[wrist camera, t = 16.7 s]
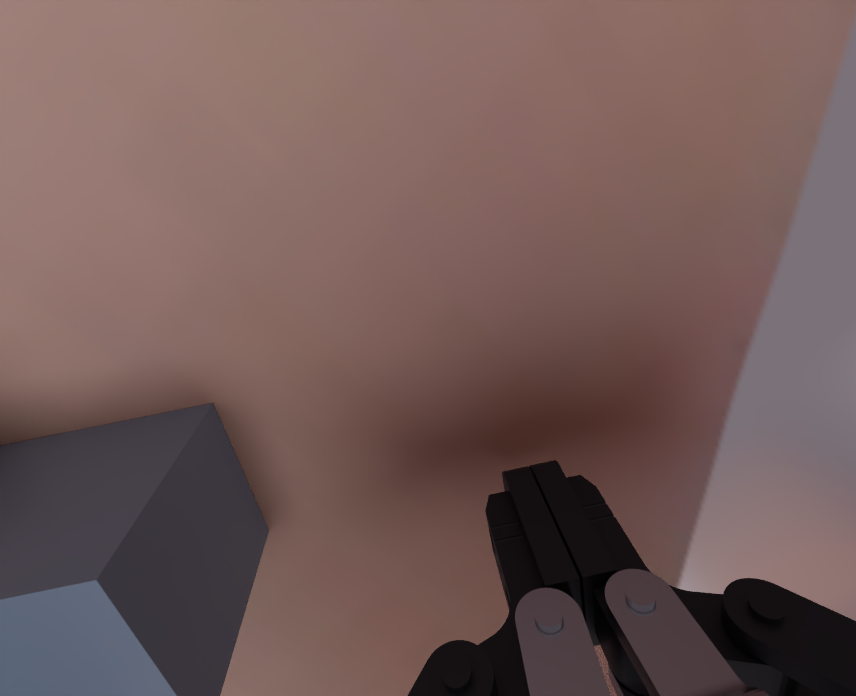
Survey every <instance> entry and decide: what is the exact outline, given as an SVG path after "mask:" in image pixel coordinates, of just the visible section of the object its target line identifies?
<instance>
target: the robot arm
mask: <svg viewBox="0 0 856 696" xmlns="http://www.w3.org/2000/svg"><path fill="white" fill-rule="evenodd" d="M502 476H503V483H504V489H505V492H501V493H496V494H491V495H489V497H488V502H487V506H486V516H487V521H488V527H489V532H490V537H491V542H492V548H493V552H494V556H495V559H496V563H497V567H498V570H499V574H500V578H501V581H502V585H503V589H504V592H505V596H506V600H507V604H508V607H509V614H508V617H507V620H506V622H505V623H504V625H503V626H502V628H501V629H500V630H499V631H498V632H497V633H495V634H494V635H493V636H491V637H490V638H488V639H487V640H485V641H483V642H482V643H480V644H479V645H476V644H474V643H471V642H469V641H464V640H455V641H450V642H448V643H445V644H443V645H442V646H440V647H439V648H437V649H436V650H435V651H434V652H433V653H432V654H431V656H430V657H429V659H428V660H427V662H426V664H425V666H424V668H423V669H422V671H421V673H420V675H419V676H418V678H417V680H416V682H415V684H414V685H413V687H412V689H411V691H410V692H409V694H408V696H611V695H610V692H609V689H608V686H607V684H606V681H605V678H604V675H603V672H602V669H601V666H600V663H599V660H598V657H597V654H596V651H595V649H594V646H595V645H601V647H602V650H603V652H604V654H605V656H606V659H607V661H608V670H609V677H610V681H611V683H612V686H613V688H614V690H615V692H616V694H617V696H856V621H854V620H852V619H850V618H848V617H845V616H843V615H841V614H839V613H837V612H834V611H832V610H830V609H828V608H826V607H824V606H821V605H819V604H817V603H815V602H813V601H811V600H808V599H806V598H804V597H802V596H800V595H797V594H795V593H793V592H791V591H789V590H787V589H784V588H782V587H780V586H778V585H775V584H773V583H770V582H768V581H764V580H760V579H753V578H744V579H739V580H735V581H734V582H732V583H730V584H729V585H728V586H727V587H726V589H725V591H724V594H712V593H701V592H690V591H685V590H681V589H678V588H675V587H672V586H670V585H668V584H667V583H666V582H665V581H664V580H663V579H661V578H660V577H658V576H657V575H655V574H653V573H651V572H650V571H649V570H648V568H647V567H646V566H645V564H644V563H643V561H642V559H641V558H640V556H639V555H638V553H637V551H636V550H635V548H634V547H633V545H632V543H631V542H630V540H629V539H628V537H627V535H626V534H625V532H624V531H623V529H622V527H621V526H620V524H619V523H618V521H617V519H616V518H614V516H613V513H612V511H611V510H610V508H609V507H608V505H606V502H605V500H604V499H603V497H602V495H601V494H600V492H599V491H598V489H597V487H596V486H595V485H593V484H592V483H591V482H589V481H588V480H586V479H585V478H584V477H582V476H581V475H577V476H573V477H568V478H566V477H565V475H564V473H563V471H562V469H561V467H560V466H559V464H558V462H557V461H556V460H554V461H549V462H545V463H540V464H535V465H531V466H529V467H528V466H527V467H522V468H518V469H513V470H509V471H504V472H502Z"/></svg>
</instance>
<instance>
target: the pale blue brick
mask: <svg viewBox="0 0 856 696" xmlns="http://www.w3.org/2000/svg"><path fill="white" fill-rule="evenodd" d="M268 531H269V529H268V527H267V525H266V522H265V520H264V518H263V516H262V513H261V511H260V509H259V506H258V504H257V502H256V500H255V497H254V495H253V493H252V490H251V488H250V486H249V484H248V481H247V479H246V477H245V474H244V472H243V470H242V468H241V465H240V463H239V461H238V458H237V456H236V454H235V452H234V449H233V447H232V445H231V442H230V440H229V438H228V436H227V433H226V431H225V429H224V426H223V424H222V422H221V420H220V417H219V415H218V413H217V411H216V408H215V406H214V404H213V403H210V404H205V405H200V406H195V407H190V408H185V409H180V410H175V411H170V412H165V413H160V414H155V415H150V416H145V417H140V418H135V419H130V420H125V421H120V422H115V423H110V424H105V425H100V426H95V427H90V428H85V429H80V430H75V431H70V432H65V433H60V434H55V435H50V436H45V437H40V438H35V439H30V440H25V441H20V442H15V443H10V444H5V445H0V696H220V694H221V691H222V687H223V684H224V681H225V677H226V674H227V670H228V667H229V664H230V660H231V657H232V653H233V650H234V647H235V643H236V640H237V636H238V633H239V630H240V626H241V623H242V620H243V616H244V613H245V609H246V606H247V603H248V599H249V596H250V592H251V589H252V586H253V582H254V579H255V576H256V572H257V569H258V565H259V562H260V559H261V555H262V552H263V548H264V545H265V542H266V538H267V535H268Z"/></svg>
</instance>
